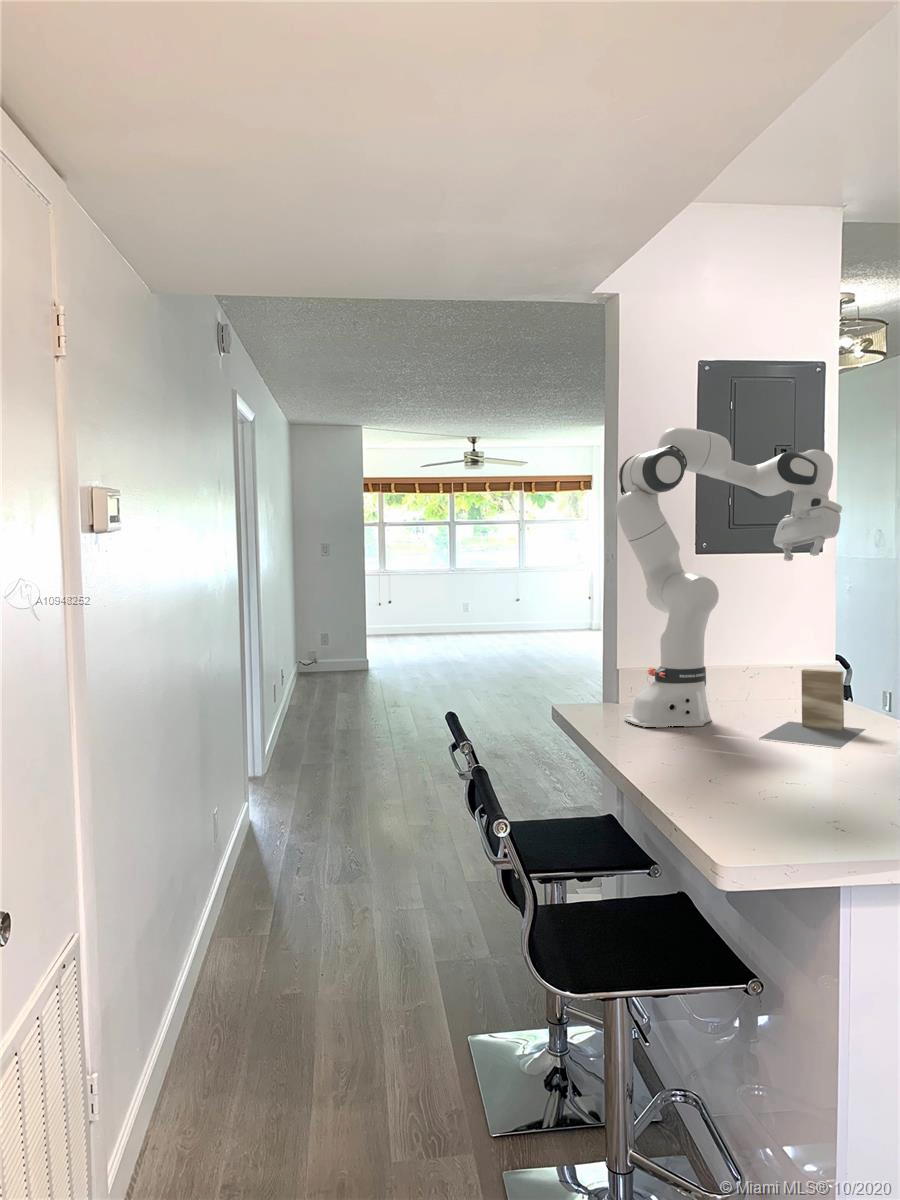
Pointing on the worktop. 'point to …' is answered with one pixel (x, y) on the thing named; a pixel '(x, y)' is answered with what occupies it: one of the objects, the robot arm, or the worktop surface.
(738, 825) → the worktop surface
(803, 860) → the worktop surface
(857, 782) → the worktop surface
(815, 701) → the flat wooden block
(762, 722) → the worktop surface
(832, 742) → the rubber mat
